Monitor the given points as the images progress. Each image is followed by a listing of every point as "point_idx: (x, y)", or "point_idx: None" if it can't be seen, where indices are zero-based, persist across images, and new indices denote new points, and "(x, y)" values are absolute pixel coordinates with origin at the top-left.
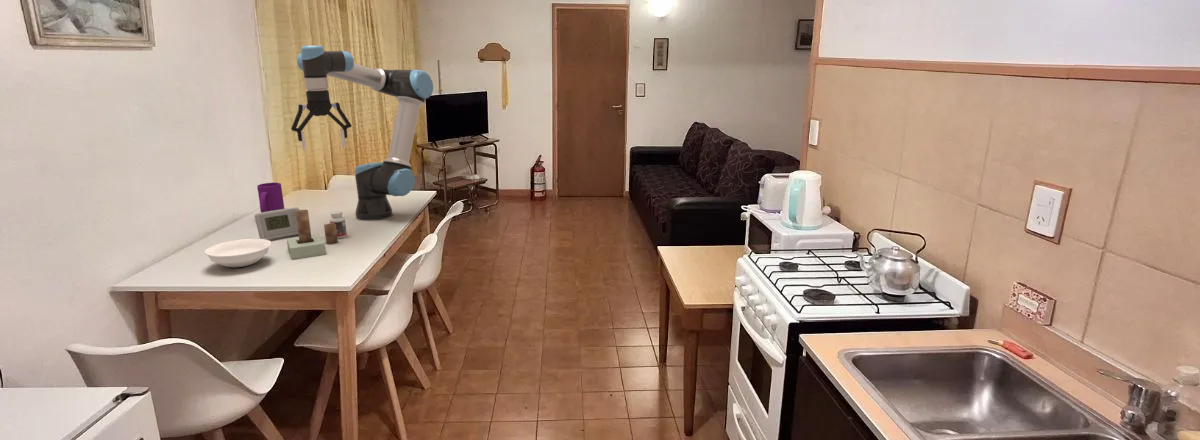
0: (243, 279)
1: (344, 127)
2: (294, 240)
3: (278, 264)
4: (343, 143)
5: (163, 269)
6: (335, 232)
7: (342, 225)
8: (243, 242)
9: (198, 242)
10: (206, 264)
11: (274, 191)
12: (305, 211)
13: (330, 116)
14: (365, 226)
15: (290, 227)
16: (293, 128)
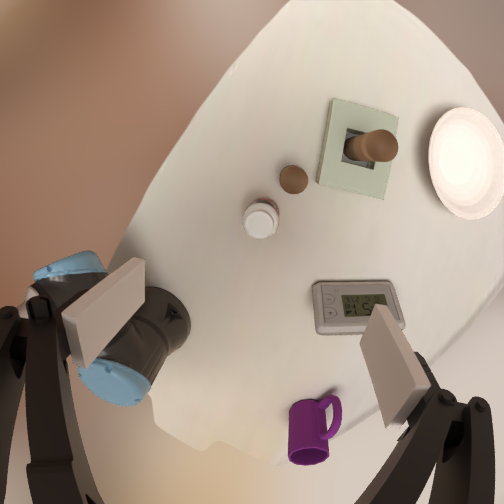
0: (462, 83)
1: (42, 319)
2: (376, 171)
3: (414, 110)
4: (130, 268)
5: None
6: (285, 168)
7: (256, 202)
8: (455, 207)
9: (441, 345)
10: None
11: (307, 439)
12: (377, 132)
13: (72, 461)
14: (192, 256)
15: (341, 293)
16: (485, 409)
